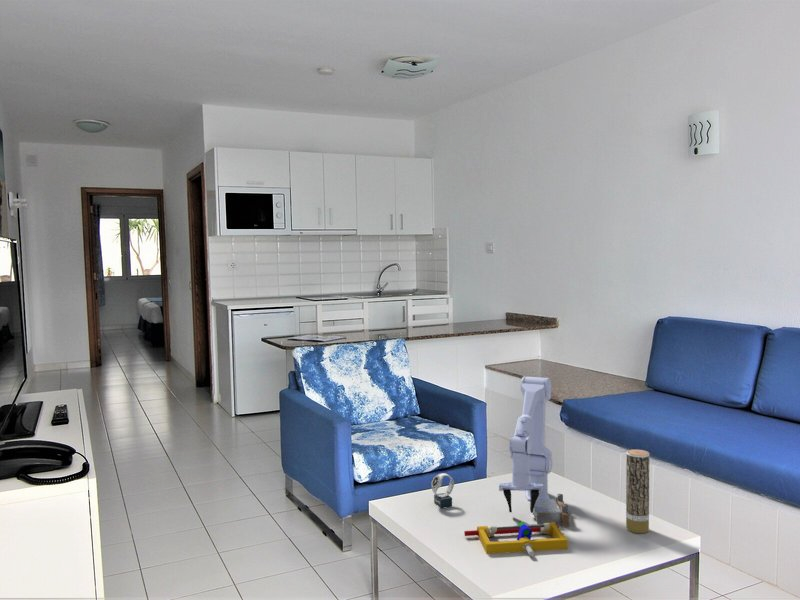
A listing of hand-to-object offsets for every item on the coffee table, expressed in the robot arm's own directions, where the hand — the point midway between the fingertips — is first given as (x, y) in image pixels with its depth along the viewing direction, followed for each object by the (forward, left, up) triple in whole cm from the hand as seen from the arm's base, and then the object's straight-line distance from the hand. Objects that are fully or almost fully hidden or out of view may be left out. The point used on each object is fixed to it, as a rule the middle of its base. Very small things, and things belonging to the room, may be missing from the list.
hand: (521, 511), depth 226 cm
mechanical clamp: (+22, -3, -3) cm, 22 cm away
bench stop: (0, +14, -2) cm, 14 cm away
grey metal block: (-1, +8, -2) cm, 9 cm away
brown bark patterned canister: (+9, +36, -2) cm, 37 cm away
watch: (-10, -26, -2) cm, 28 cm away
